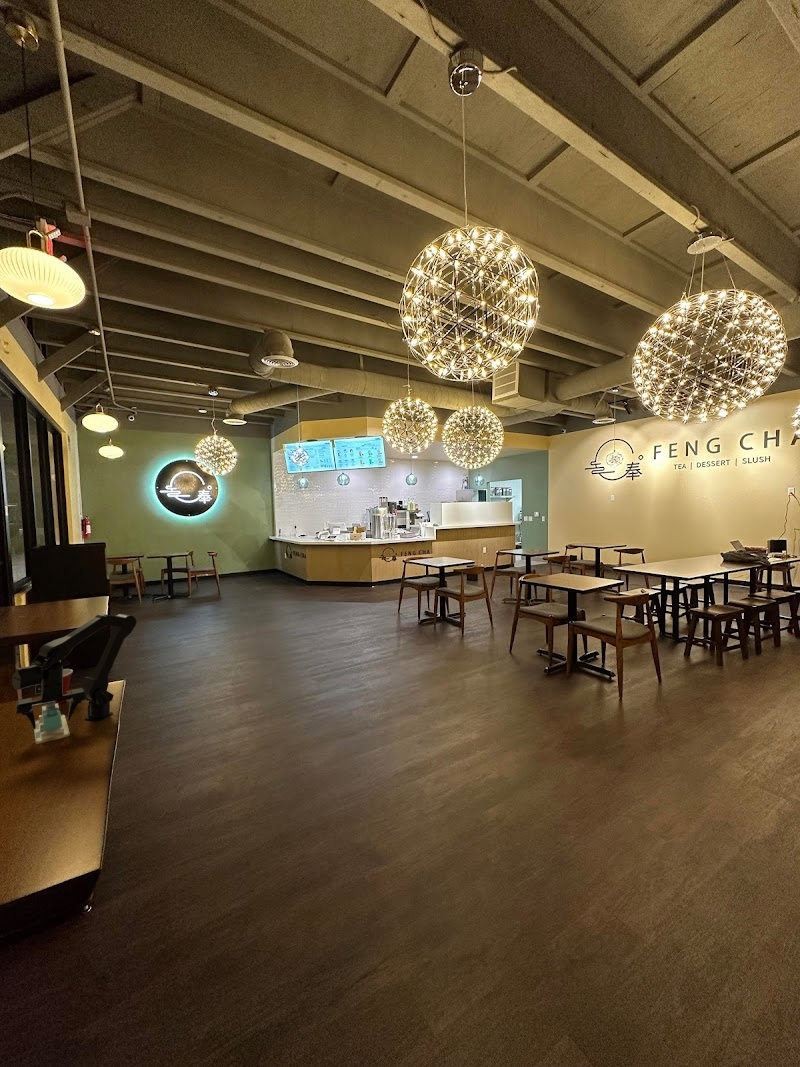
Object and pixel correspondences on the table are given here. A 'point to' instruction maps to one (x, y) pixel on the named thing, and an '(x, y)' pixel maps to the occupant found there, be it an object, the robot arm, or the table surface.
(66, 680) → the plastic cup
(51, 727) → the teal plug
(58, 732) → the backplate with mounted blocks
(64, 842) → the table surface
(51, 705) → the grey plug
